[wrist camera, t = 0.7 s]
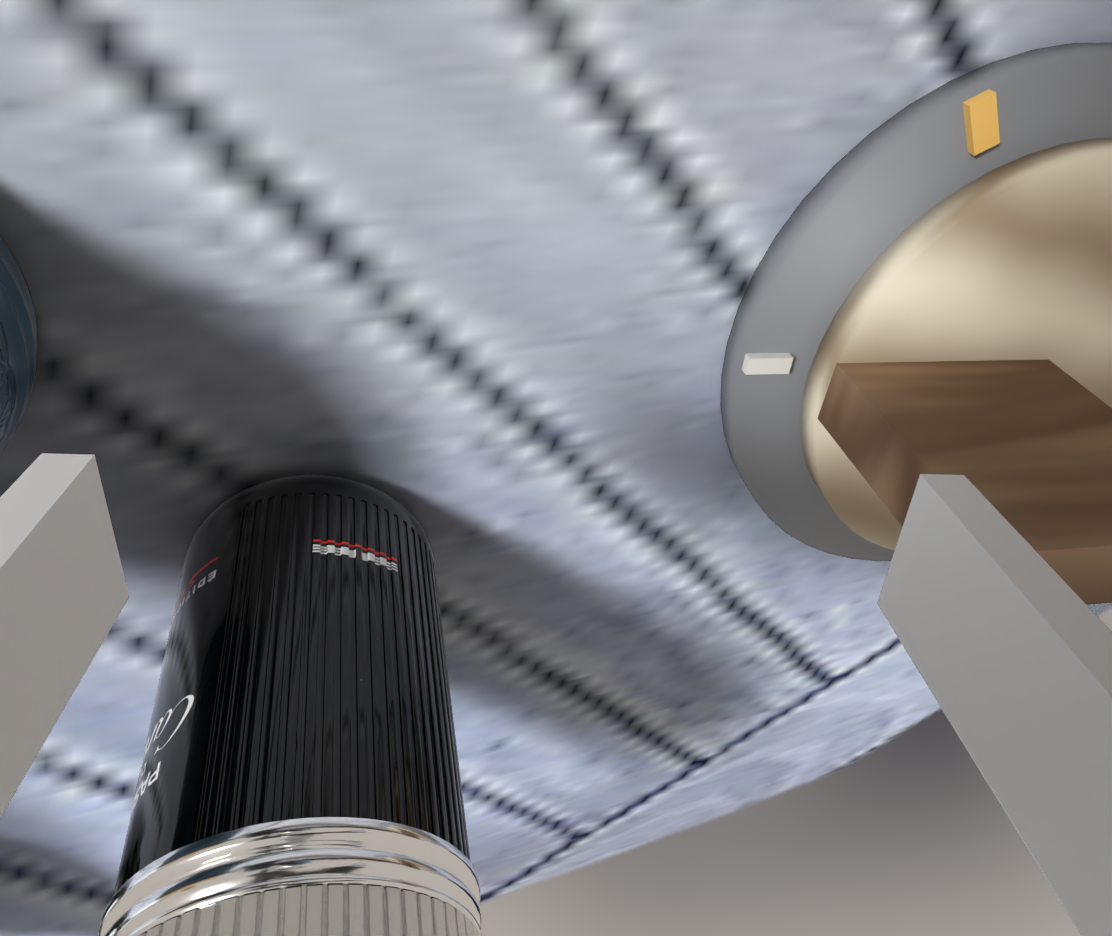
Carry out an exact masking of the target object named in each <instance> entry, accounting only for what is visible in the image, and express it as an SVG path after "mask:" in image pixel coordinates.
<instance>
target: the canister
mask: <svg viewBox="0 0 1112 936" xmlns="http://www.w3.org/2000/svg"><path fill="white" fill-rule="evenodd" d="M37 348H38V332H37V321H36V316H35V310H34V306H33V302H32V299H31V295H30V292H29V290H28V287H27V284H26V282H25V279H24V277H23V275H22V273H21V271H20V269H19V267H18V265H17V263H16V261H15V259H14V258H13V256H12V254H11V252H10V250H9V249H8V247H7V246H6V244H5V243H4V241H3V240H2V238H1V237H0V451H1V450H2V449H3V447H4V446H5V445H6V444H7V442H8V441H9V439H10V438H11V436H12V435H13V433H14V431H15V429H16V427H17V425H18V423H19V421H20V419H21V418H22V416H23V414H24V412H25V410H26V408H27V405H28V402H29V399H30V397H31V393H32V389H33V385H34V380H35V372H36V357H37Z"/></svg>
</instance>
